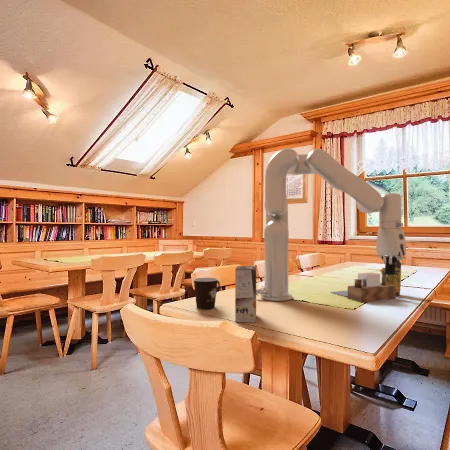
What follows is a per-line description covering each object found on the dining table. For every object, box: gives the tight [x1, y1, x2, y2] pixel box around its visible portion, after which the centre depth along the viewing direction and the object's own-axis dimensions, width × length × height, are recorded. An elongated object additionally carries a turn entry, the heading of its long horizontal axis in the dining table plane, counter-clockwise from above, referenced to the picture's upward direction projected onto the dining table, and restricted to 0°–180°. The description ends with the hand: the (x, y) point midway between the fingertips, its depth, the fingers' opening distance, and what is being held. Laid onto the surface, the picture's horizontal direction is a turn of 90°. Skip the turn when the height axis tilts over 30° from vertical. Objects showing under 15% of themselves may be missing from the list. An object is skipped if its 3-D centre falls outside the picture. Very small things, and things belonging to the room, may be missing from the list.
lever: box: [379, 267, 398, 275], centre depth 129 cm, size 10×3×1 cm, turn 1°
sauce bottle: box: [386, 260, 402, 297], centre depth 138 cm, size 6×6×20 cm
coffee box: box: [234, 265, 257, 323], centre depth 103 cm, size 9×6×16 cm
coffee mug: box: [193, 277, 221, 311], centre depth 117 cm, size 12×9×10 cm
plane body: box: [347, 272, 397, 303], centre depth 131 cm, size 18×7×10 cm, turn 112°
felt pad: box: [330, 289, 348, 298], centre depth 140 cm, size 12×9×1 cm
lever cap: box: [357, 272, 381, 288], centre depth 130 cm, size 7×4×5 cm, turn 112°
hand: (390, 274), depth 124 cm, fingers closed
